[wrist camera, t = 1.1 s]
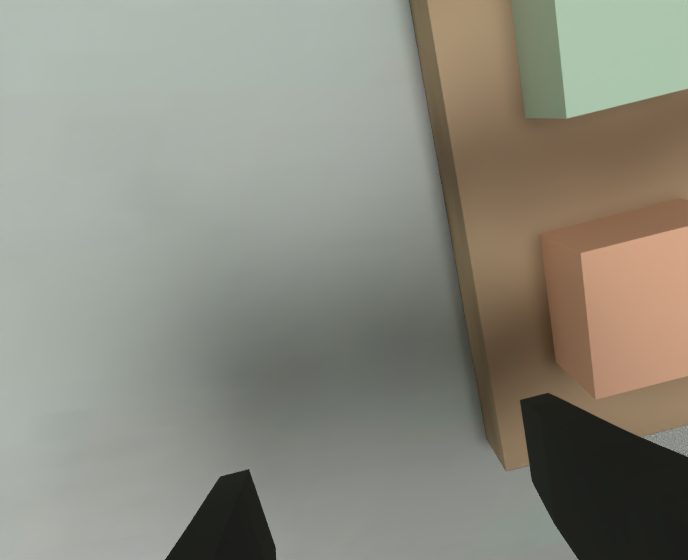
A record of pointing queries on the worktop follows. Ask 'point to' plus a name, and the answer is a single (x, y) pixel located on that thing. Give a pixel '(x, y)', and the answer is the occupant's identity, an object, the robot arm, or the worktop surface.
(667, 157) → the walnut board
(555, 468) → the robot arm
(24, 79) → the worktop surface
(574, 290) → the terracotta tile
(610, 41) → the sage tile
